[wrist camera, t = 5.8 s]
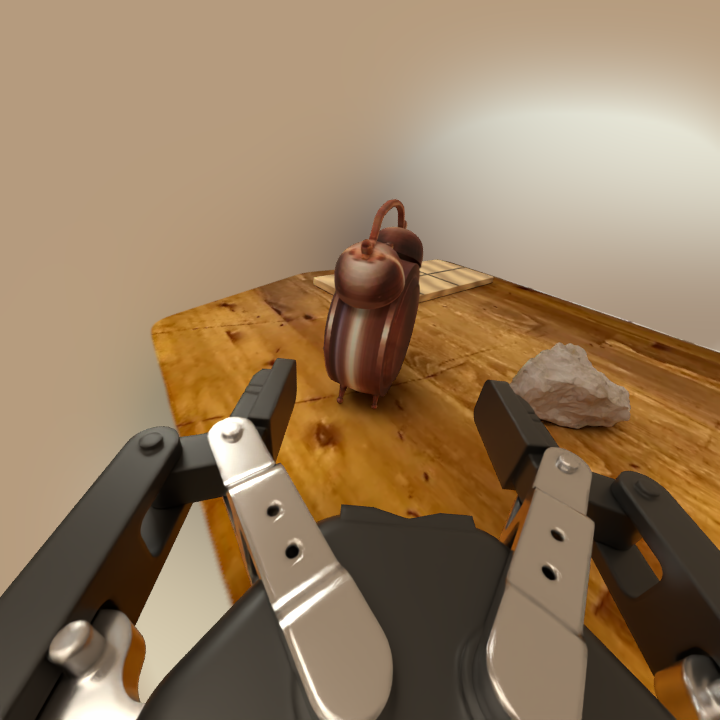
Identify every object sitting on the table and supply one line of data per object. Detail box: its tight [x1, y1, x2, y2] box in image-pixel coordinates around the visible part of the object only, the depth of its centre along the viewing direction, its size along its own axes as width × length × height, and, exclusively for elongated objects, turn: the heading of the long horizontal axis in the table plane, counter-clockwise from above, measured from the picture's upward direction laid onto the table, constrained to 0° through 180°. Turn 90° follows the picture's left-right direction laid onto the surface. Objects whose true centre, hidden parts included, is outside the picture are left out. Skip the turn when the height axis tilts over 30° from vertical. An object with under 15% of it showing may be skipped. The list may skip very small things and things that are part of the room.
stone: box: [509, 342, 631, 429], centre depth 25 cm, size 10×8×6 cm
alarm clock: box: [324, 199, 423, 409], centre depth 23 cm, size 11×5×15 cm, turn 159°
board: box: [313, 259, 494, 302], centre depth 55 cm, size 34×14×1 cm, turn 131°
